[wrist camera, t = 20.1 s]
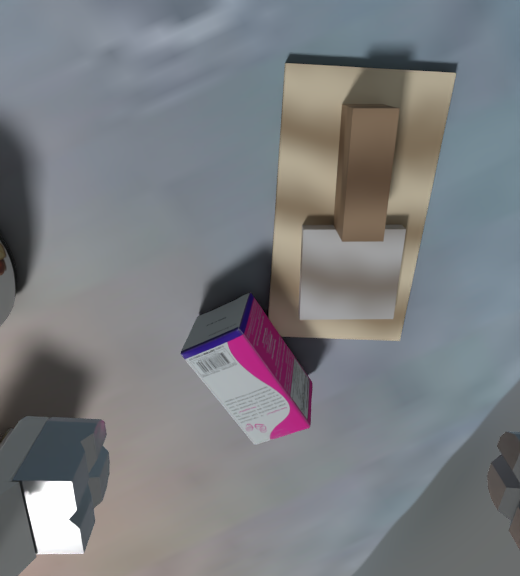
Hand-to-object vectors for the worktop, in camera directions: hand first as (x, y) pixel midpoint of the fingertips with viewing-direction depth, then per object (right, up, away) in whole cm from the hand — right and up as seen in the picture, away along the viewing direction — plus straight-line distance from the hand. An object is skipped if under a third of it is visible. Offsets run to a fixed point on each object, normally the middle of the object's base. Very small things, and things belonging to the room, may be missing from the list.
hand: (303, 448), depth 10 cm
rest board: (+6, +9, +28) cm, 30 cm away
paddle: (+6, +9, +27) cm, 29 cm away
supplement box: (-4, +1, +28) cm, 29 cm away
